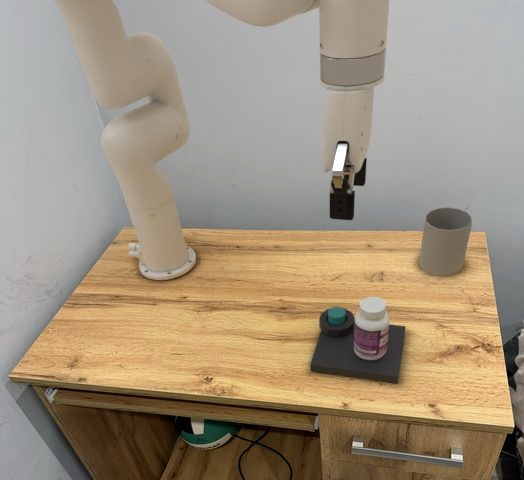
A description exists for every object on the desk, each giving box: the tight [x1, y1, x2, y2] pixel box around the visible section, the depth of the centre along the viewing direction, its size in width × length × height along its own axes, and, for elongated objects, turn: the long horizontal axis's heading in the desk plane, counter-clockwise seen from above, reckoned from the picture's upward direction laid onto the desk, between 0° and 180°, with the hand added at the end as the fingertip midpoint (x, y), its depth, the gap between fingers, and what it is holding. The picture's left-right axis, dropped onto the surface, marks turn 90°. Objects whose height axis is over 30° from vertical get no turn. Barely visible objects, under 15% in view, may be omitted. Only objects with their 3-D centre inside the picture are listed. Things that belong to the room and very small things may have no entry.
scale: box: [309, 307, 407, 384], centre depth 84 cm, size 14×13×4 cm
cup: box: [418, 207, 473, 277], centre depth 96 cm, size 8×8×10 cm
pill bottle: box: [354, 296, 390, 360], centre depth 79 cm, size 5×5×10 cm
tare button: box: [328, 306, 346, 325], centre depth 86 cm, size 3×3×2 cm
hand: (348, 200), depth 71 cm, fingers open, 9 cm apart
